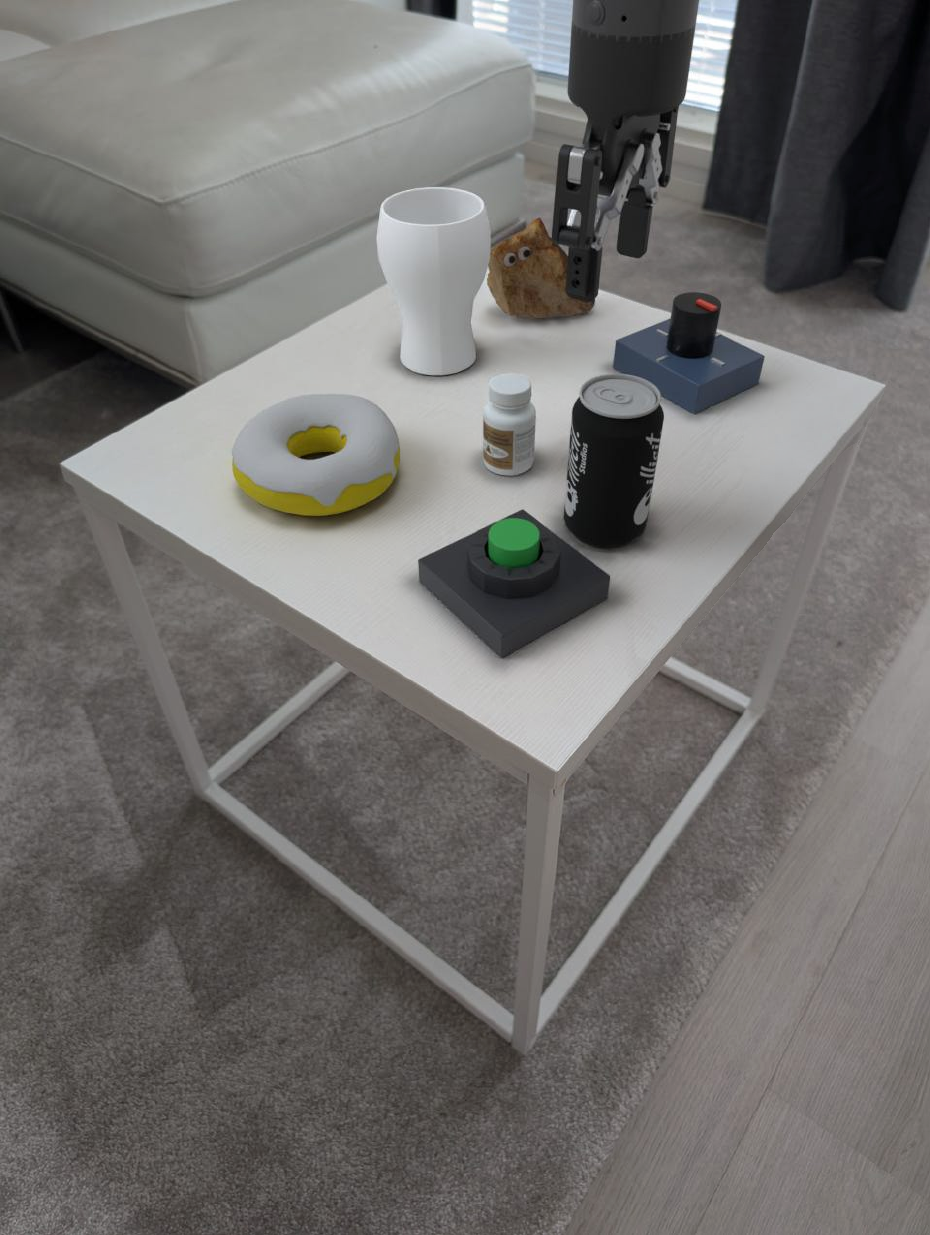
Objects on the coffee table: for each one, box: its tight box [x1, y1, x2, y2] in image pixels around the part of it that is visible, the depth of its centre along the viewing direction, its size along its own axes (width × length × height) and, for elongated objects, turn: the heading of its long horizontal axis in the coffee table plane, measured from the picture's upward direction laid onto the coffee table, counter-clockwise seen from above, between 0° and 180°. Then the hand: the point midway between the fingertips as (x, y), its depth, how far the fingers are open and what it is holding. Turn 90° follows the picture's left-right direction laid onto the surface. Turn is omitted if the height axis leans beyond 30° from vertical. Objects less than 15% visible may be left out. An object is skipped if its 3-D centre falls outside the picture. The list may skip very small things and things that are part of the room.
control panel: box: [612, 318, 766, 415], centre depth 88 cm, size 11×9×3 cm
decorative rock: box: [486, 216, 596, 319], centre depth 96 cm, size 12×6×11 cm, turn 105°
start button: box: [488, 518, 540, 569], centre depth 64 cm, size 4×4×2 cm
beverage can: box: [563, 373, 665, 549], centre depth 68 cm, size 7×7×12 cm
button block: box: [417, 508, 611, 658], centre depth 66 cm, size 10×10×4 cm
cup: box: [375, 186, 492, 376], centre depth 87 cm, size 11×11×15 cm
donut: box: [231, 393, 401, 517], centre depth 76 cm, size 14×14×5 cm
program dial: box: [666, 291, 722, 358], centre depth 86 cm, size 4×4×5 cm
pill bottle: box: [482, 372, 537, 477], centre depth 76 cm, size 4×4×8 cm
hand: (607, 275), depth 67 cm, fingers open, 8 cm apart
